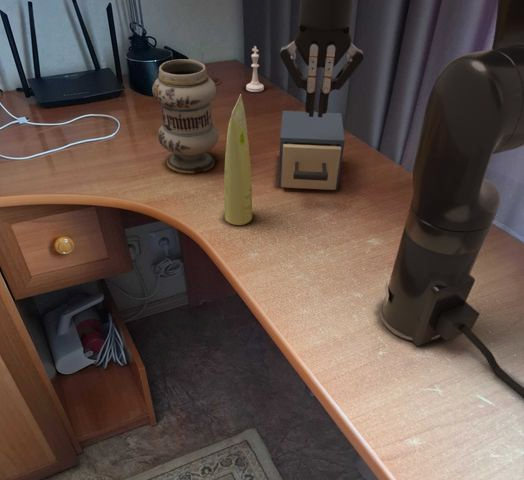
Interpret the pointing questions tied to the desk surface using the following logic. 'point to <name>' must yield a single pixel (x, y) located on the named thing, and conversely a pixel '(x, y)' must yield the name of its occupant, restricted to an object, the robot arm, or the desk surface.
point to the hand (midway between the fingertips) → (315, 115)
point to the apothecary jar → (186, 115)
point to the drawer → (310, 165)
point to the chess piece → (255, 74)
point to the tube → (237, 170)
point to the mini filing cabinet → (311, 132)
